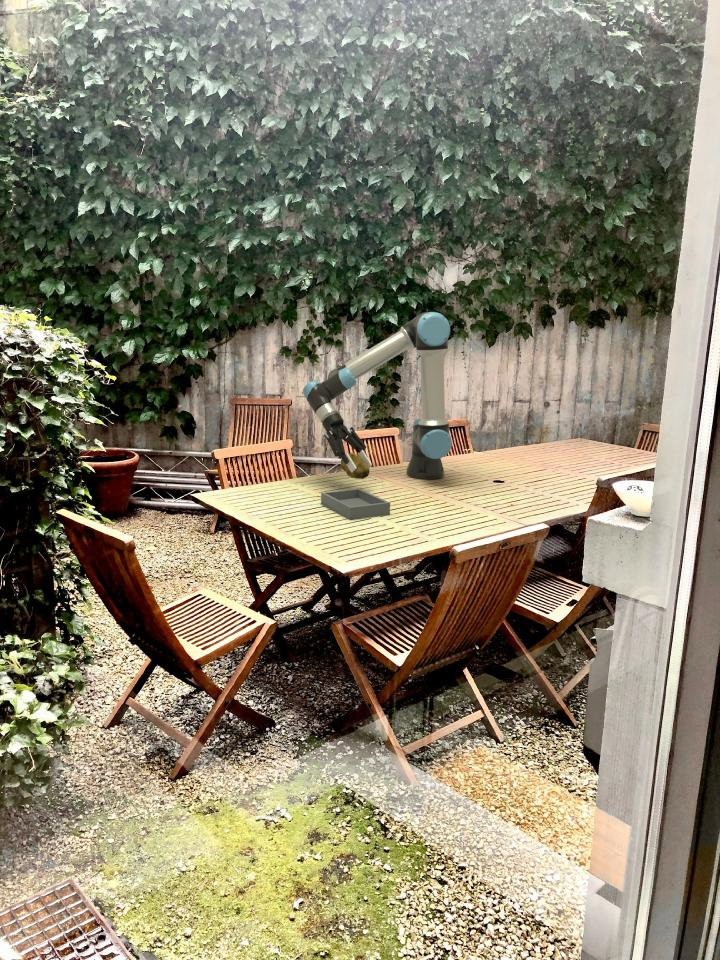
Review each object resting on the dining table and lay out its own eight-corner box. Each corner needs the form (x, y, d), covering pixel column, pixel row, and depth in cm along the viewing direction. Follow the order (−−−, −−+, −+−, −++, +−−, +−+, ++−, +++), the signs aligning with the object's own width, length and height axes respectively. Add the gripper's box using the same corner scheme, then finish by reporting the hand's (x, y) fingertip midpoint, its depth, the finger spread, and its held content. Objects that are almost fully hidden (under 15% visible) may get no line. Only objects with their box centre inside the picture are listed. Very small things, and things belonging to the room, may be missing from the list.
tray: (320, 504, 240) (321, 492, 239) (358, 499, 247) (359, 488, 246) (350, 519, 223) (350, 507, 222) (389, 514, 231) (390, 502, 230)
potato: (349, 481, 248) (349, 459, 246) (338, 473, 259) (338, 452, 258) (371, 480, 250) (371, 458, 248) (359, 471, 262) (359, 450, 260)
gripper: (344, 421, 268) (374, 470, 262) (305, 427, 254) (336, 479, 247) (354, 409, 264) (386, 458, 257) (315, 414, 249) (347, 466, 242)
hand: (361, 468), depth 252 cm, fingers closed on potato, 7 cm apart
